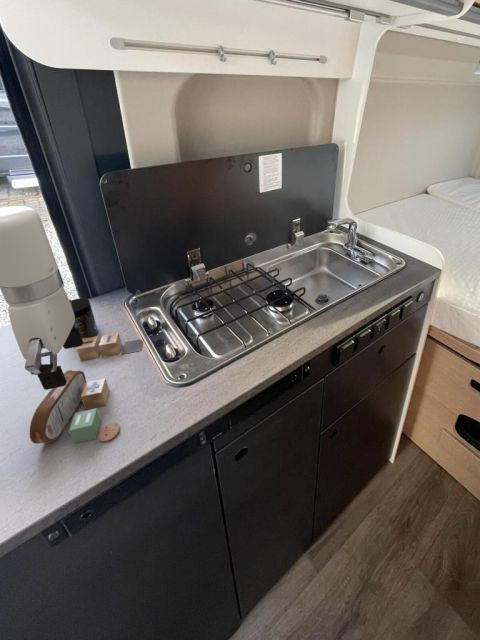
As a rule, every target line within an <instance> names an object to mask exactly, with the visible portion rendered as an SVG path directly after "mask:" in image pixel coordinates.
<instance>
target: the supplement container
mask: <svg viewBox="0 0 480 640" xmlns="http://www.w3.org/2000/svg"><path fill="white" fill-rule="evenodd" d="M70 300H71V301H72V307H73V311H74V312H75V315H74V316H75V321H77V323H78V325H77V327H76V328H78V329H79V332H80V335H81V337H82V339H84V338H90V337H96V336H97V335H98V332H99V328H98V324H97V321H96V318H95V314H94V312H93V308H92V305H91V301H90V300H89V299H88V298H86V297H85V298H84V297H81V298H80V297H79V298H74V299H70Z"/></svg>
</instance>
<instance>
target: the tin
mask: <svg viewBox="0 0 480 640" xmlns="http://www.w3.org/2000/svg"><path fill="white" fill-rule="evenodd" d="M63 374H64V376H65V378H66V381H67V383H66V385H65V386H62V387H57V388H52V389H49V391H48V393H47V394H46V395H45V396H44V398H43V399H42V401H41V402H40V403H39V405H38V406H37V408H36V409H35V412H34V413H33V414H32V415H33V416H32V418H31V421H30V425H29V439H30V441H31V442H32V443H33V444H35V445H38V444H49V443H53V442H54V441H56V440H57V439H58V438H60V436H61V435H62V433H63V432H64V430H65V429H66V427H67V425H68V424H69V422H70V420H71V419H72V418H73V417H74V414H75V413H76V411H77V410H78V408H79V406H80V405H81V403H82V402H83V401H82V399H81V394H82V392H83V389H84V386H85V383H86V382H87V378H86V374H85V372H84V371H82V370H72V369H69V370H66V371H64V372H63Z"/></svg>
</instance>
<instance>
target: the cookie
mask: <svg viewBox="0 0 480 640" xmlns="http://www.w3.org/2000/svg"><path fill="white" fill-rule="evenodd" d="M119 431H120V425H119V424H118V423H117V422H108V423H107V424H105V425H103V426H102V427H100V428H99V432H98V436H97V439H98V440H99V441H100V442H108V441H111V440H112V439H114V438H115V437H116V436H117V435H118V433H119Z"/></svg>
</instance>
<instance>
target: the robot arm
mask: <svg viewBox="0 0 480 640" xmlns="http://www.w3.org/2000/svg"><path fill="white" fill-rule="evenodd" d="M0 292H1V294H2V297H3V298H4V301H5V303H6V304H7V305H8V309H7V310H8V317H9V320H10V325H11V329H12V332H13V334H14V337H15V340H16V344H17V346H18V348H19V350H20V354H21V356H22V357H23V358H24V360H25V364H24V369H25V370H26V371H27V372H29V374H31V375H32V376H33V375H34V376H37V377H38V379H39V382H40V384H41V386H42V389H43V390H46V391H47V390H51V389H52V388H57V387H62V386H65V385H66V383H67V381H66V378H65V376H64V372H63V369H62V366H61V365H58V353H59V352H61V350H62V349H64V350H68V349H73V348H74V349H75V348H77V347H79V346H82V345H83V340H82V337H81V335H80V332H79V329H78V328H76V327H77V325H78V323H77V321H75V316H74V315H75V312H74V311H73V307H72V301H71V300H72V299H70V298H69V297H68V294H67V292H66V290H65V282H64V279H63V277H62V275H61V272H60V269H59V266H58V263H57V260H56V257H55V254H54V252H53V249H52V247H51V244H50V241H49V239H48V235H47V232H46V230H45V226H44V224H43V221H42V219H41V216H40V214H39V213H38V212H37V211H36V210H35V209H34V208H32V207H28V206H21V205H19V206H18V205H17V206H15V205H14V206H5V207H0ZM45 349H46V350H47V351H45V352H42V350H45ZM44 357H49V363H44V364H43V363H42V358H44Z"/></svg>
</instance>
